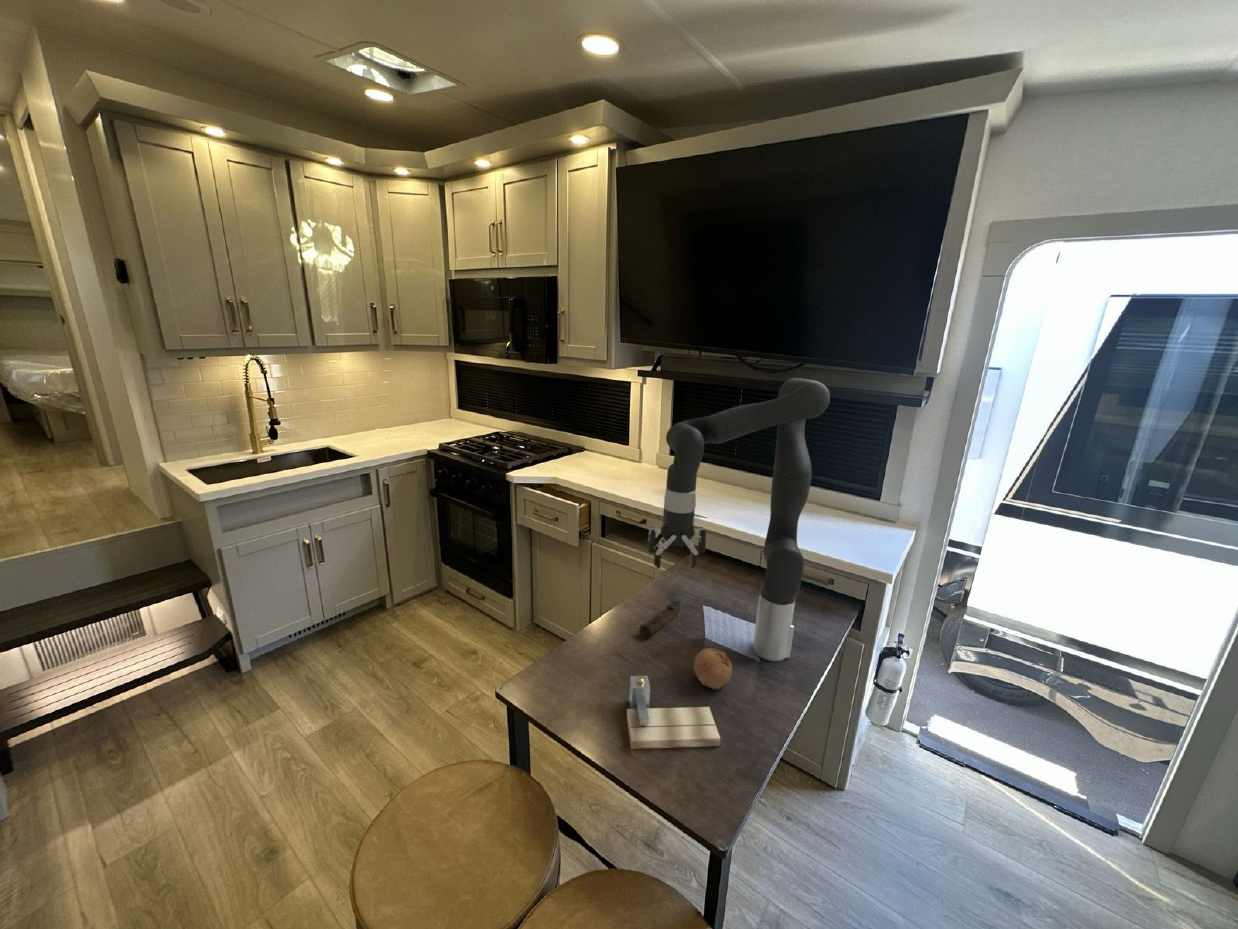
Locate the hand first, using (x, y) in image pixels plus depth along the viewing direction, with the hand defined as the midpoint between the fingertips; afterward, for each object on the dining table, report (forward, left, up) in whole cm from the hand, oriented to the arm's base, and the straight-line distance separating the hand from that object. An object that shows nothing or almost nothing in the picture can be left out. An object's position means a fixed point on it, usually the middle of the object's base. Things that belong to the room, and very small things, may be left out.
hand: (674, 567), depth 123 cm
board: (+3, +23, -28) cm, 36 cm away
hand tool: (-2, -18, -28) cm, 34 cm away
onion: (-10, +8, -28) cm, 31 cm away
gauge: (+9, +19, -28) cm, 35 cm away
